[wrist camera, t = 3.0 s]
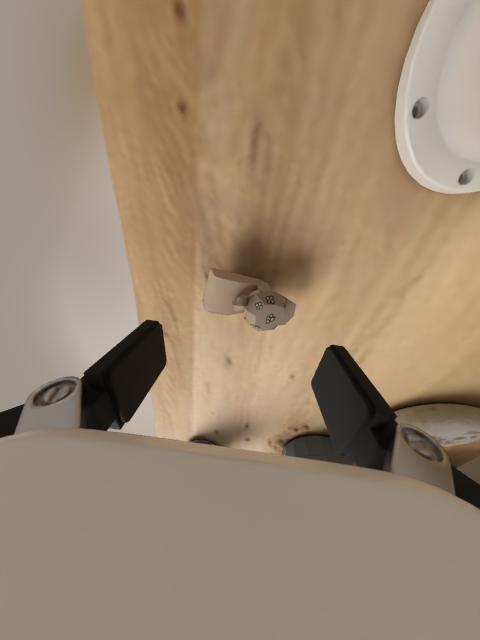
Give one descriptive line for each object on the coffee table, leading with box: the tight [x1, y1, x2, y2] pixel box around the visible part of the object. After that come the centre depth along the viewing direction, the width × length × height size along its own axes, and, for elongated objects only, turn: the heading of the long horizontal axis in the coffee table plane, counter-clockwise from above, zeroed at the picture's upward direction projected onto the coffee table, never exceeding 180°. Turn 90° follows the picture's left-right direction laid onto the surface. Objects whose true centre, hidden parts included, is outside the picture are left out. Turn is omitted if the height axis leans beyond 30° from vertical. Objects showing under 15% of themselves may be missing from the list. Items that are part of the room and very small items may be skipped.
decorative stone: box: [394, 404, 480, 446], centre depth 23 cm, size 6×16×3 cm, turn 104°
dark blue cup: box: [282, 435, 356, 466], centre depth 29 cm, size 12×12×6 cm
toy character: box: [203, 268, 296, 331], centre depth 16 cm, size 4×8×6 cm, turn 71°
